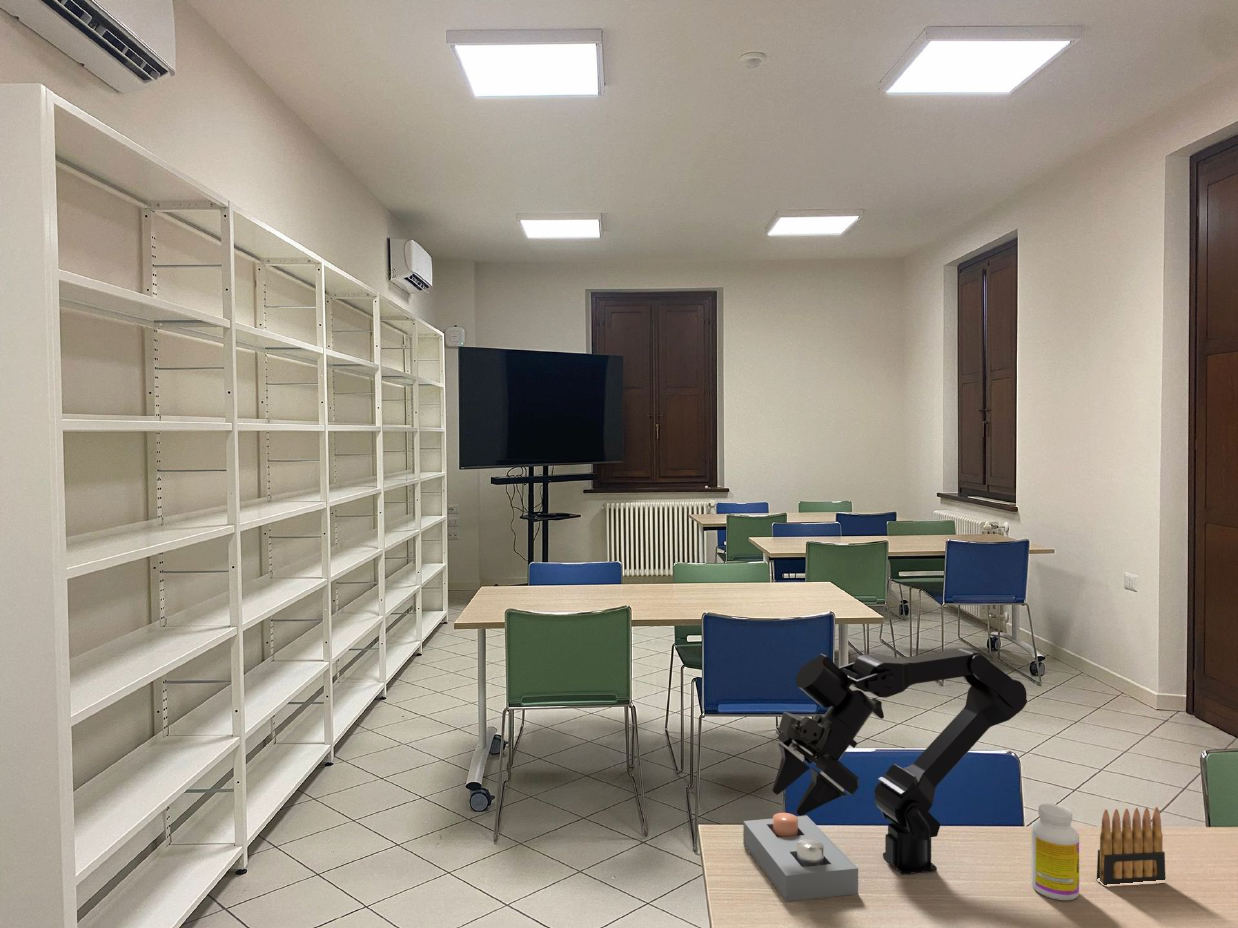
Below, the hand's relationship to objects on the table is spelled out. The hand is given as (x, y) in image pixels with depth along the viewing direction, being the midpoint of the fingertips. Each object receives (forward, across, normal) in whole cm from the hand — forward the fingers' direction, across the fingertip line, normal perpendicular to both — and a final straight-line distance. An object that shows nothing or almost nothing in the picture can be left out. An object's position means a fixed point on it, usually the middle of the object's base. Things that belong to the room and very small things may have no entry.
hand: (785, 803), depth 129 cm
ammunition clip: (-24, +10, +51) cm, 57 cm away
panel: (+7, -5, +11) cm, 14 cm away
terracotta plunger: (+5, -10, +9) cm, 14 cm away
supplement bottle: (-16, +10, +40) cm, 44 cm away
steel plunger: (+5, 0, +9) cm, 11 cm away
